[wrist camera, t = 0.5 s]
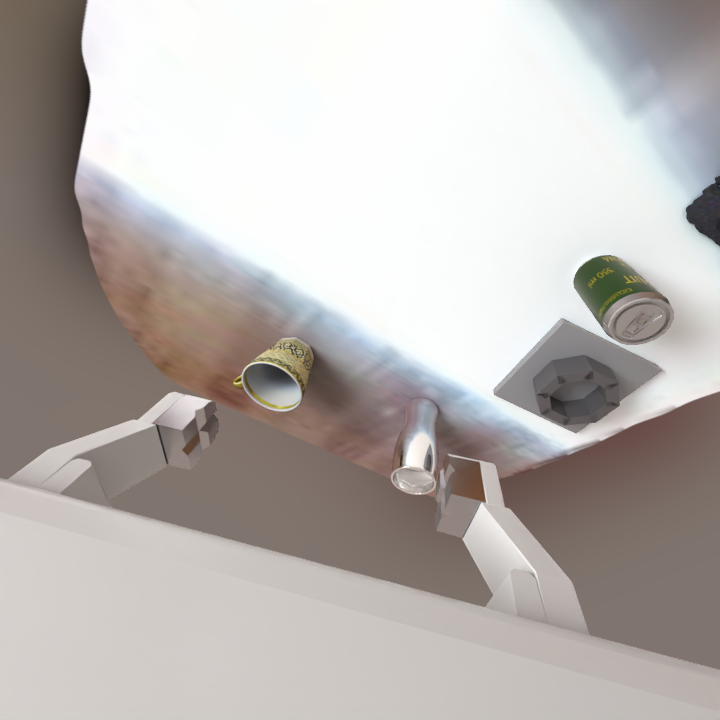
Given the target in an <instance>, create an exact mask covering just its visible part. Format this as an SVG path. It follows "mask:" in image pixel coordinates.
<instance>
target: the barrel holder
mask: <svg viewBox="0 0 720 720" xmlns="http://www.w3.org/2000/svg"><path fill="white" fill-rule="evenodd" d="M660 371H662V370H661V369H660V368H659V367H658V365H656V364H654V363H652V362H650V361H648V360H646V359H644V358H642V357H639V356H637V355H635V354H633V353H631V352H629V351H627V350H625V349H623V348H621V347H619V346H617V345H615V344H613V343H611V342H609V341H607V340H605V339H603V338H601V337H599V336H597V335H595V334H593V333H591V332H589V331H587V330H585V329H583V328H581V327H579V326H576V325H574V324H572V323H570V322H568V321H566V320H564V319H562V318H561V319H560V320H559V321H558V322H557V323H556V325H555V326H554V327H553V328H552V329H551V330H550V331H549V332H548V333H547V334H546V335H545V336H544V337H543V338H542V339H541V340H540V341H539V342H538V343H537V345H536V346H535V347H534V348H533V349H532V350H531V351H530V352H529V353H528V354H527V355H526V356H525V357H524V358H523V359H522V360H521V361H520V362H519V363H518V365H517V366H516V367H515V368H514V369H513V370H512V371H511V372H510V373H509V374H508V375H507V376H506V377H505V378H504V379H503V380H502V381H501V382H500V383H499V385H498V386H497V387H496V388H495V389H494V395H496V396H498V397H500V398H502V399H504V400H506V401H508V402H511V403H513V404H515V405H517V406H519V407H521V408H523V409H525V410H527V411H530V412H532V413H534V414H536V415H538V416H540V417H542V418H544V419H547V420H549V421H551V422H553V423H555V424H557V425H559V426H561V427H563V428H566V429H568V430H570V431H572V432H574V433H577V432H579V431H580V430H581V429H583V428H584V427H585V426H587V425H588V424H590V423H595V422H597V421H599V420H600V419H601V418H603V417H604V416H606V415H607V414H608V413H610V412H611V411H612V410H614V409H615V408H617V407H618V406H619V405H620V401H621V400H622V399H624V398H625V397H626V396H628V395H629V394H630V393H632V392H633V391H634V390H636V389H637V388H639V387H640V386H641V385H643V384H644V383H645V382H647V381H648V380H649V379H651V378H652V377H654V376H655V375H656V374H658V373H659V372H660Z"/></svg>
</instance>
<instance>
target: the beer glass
mask: <svg viewBox="0 0 720 720" xmlns="http://www.w3.org/2000/svg"><path fill="white" fill-rule="evenodd" d="M438 413H439V411H438V407H437V405H436V404H435V403H434V402H433V401H431V400H429V399H426V398H420V397H419V398H413V399H411V400H409V401H408V402H407V403H406V405H405V407H404V414H405V421H404V425H403V427H402V430H401V432H400V434H399V437H398V439H397V442H396V445H395V449H394V454H393V461H392V473H391V481H392V483H393V484H394V485H395V486H396V487H397V488H398V489H400V490H402V491H404V492H406V493H410V494H416V495H422V494H427V493H429V492H431V491H433V490H434V489H435V487H436V479H437V473H438V464H439V450H438V442H437V436H436V430H435V424H436V420H437V417H438Z"/></svg>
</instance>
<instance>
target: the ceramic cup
mask: <svg viewBox="0 0 720 720" xmlns="http://www.w3.org/2000/svg"><path fill="white" fill-rule="evenodd" d="M313 360H314V355H313V352H312V350H311V347H310V345H308V344H307V343H305V342H304V341H302V340H301V339H299V338H298V337H292V338H283V339H281V340H280V341H278V342H277V343H276V344H275V345H273V346H272V347H271V348H269V349H268V350H267V351H266V352H264V353H262V354H261V355H259V356H258V357H257V358H256V359H254V360H253V361H252V362H251V363H250V364H249V365H247V366H246V367H245V369H244V370H243V372H242V375H241V376H239V377H238V378H236V379H235V380H234V386H235V387H236V388H239V389H242V388H244V389H245V391H246V392H247V394H248V395H249V396H250V397H251V398H252V399H253V400H254V401H255V402H257V403H258V404H259V405H261V406H263V407H265V408H267V409H270V410H273V411H278V412H287V411H291V410H294V409H295V408H297V407H298V406H299V405H300V403H301V401H302V399H303V396H304V393H305V390H306V386H307V382H308V377H309V374H310V370H311V367H312V364H313ZM241 379H242V382H238V381H240V380H241ZM237 382H238V383H237Z"/></svg>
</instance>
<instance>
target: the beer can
mask: <svg viewBox="0 0 720 720" xmlns="http://www.w3.org/2000/svg"><path fill="white" fill-rule="evenodd" d="M574 288H575V289H576V291H577V292H578V294H579V295H580V297H581V298H582V300H583V301H584V302H585V304H586V305H587V307H588V308H589V310H590V311H591V312H592V314H593V315H594V317H595V318H596V320H597V321H598V322H599V324H600V325H601V327H602V328H603V330H604V331H605V332H606V334H607V335H608V336H610V337H611V338H613V339H615V340H616V341H618V342H619V343H623V344H626V345H638V344H643V343H647V342H649V341H652V340H654V339H656V338H658V337H659V336H661V335H662V334H664V333H665V332H666V330H667V329H668V328H669V327H670V326H671V323H672V321H673V310H672V308H671V305H670V303H669V301H668V299H667V298H665V297H664V296H663V295H662V294H661V293H660V292H658V291H657V290H656V289H655V288H654V287H653V286H651V285H650V284H649V283H648V282H647V281H646V280H644V279H643V278H642V277H641V276H640V275H639V274H637V273H636V272H635V271H634V270H633V269H632V268H630V267H629V266H628V265H627V264H626V263H625V262H623V261H622V260H621V259H619V258H618V257H615V256H611V255H605V256H598V257H595V258H591V259H590V260H588V261H586V262H585V263H584V264H583V265H582V266H580V268H579V269H578V271H577V272H576V274H575V277H574Z"/></svg>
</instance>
